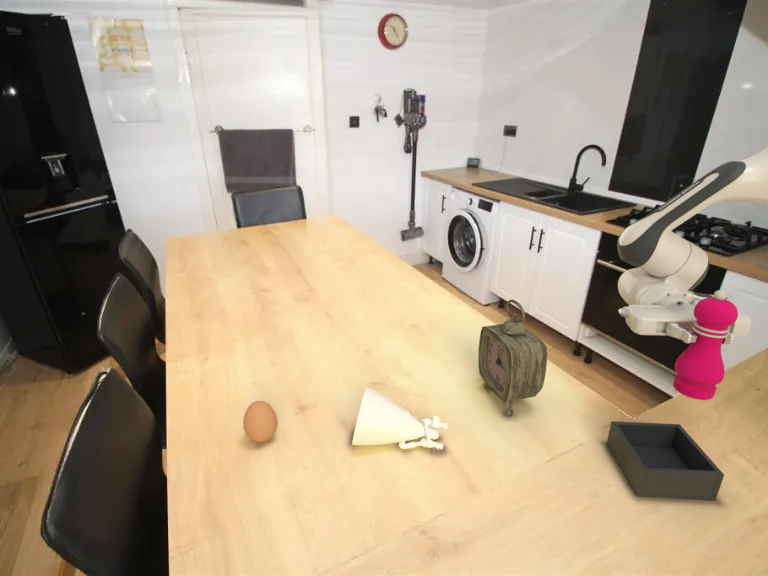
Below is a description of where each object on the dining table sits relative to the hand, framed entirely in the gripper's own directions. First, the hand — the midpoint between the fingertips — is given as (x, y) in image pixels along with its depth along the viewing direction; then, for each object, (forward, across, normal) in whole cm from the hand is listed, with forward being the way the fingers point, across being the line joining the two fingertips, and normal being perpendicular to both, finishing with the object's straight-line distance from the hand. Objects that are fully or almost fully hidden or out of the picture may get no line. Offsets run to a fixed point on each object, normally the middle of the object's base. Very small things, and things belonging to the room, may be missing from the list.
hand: (710, 340), depth 72 cm
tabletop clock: (-14, -30, +24) cm, 41 cm away
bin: (+6, -7, +24) cm, 26 cm away
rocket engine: (+3, -55, +24) cm, 60 cm away
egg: (+3, -83, +24) cm, 87 cm away
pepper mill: (-1, 0, +11) cm, 11 cm away
